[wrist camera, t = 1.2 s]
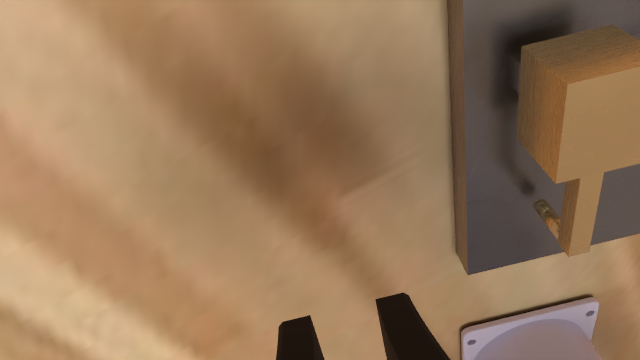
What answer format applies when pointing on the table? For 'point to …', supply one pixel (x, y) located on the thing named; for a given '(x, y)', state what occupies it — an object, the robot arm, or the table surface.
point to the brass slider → (580, 121)
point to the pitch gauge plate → (501, 131)
